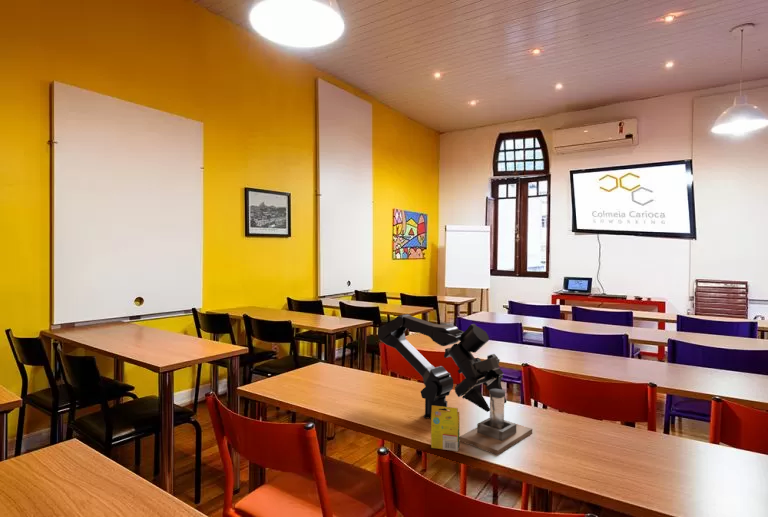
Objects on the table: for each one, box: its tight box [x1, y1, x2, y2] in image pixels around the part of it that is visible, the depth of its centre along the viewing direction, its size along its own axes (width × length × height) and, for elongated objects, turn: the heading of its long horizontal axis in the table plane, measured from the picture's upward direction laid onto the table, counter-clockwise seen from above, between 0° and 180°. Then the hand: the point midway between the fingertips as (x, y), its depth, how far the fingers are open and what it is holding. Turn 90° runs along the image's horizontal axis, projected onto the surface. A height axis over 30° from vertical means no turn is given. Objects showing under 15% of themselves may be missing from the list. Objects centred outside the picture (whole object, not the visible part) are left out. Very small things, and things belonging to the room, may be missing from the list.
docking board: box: [459, 417, 533, 456], centre depth 127 cm, size 12×20×4 cm, turn 136°
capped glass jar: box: [488, 389, 506, 430], centre depth 127 cm, size 4×4×12 cm
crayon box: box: [430, 405, 460, 453], centre depth 120 cm, size 7×3×12 cm, turn 72°
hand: (497, 406), depth 127 cm, fingers open, 9 cm apart
